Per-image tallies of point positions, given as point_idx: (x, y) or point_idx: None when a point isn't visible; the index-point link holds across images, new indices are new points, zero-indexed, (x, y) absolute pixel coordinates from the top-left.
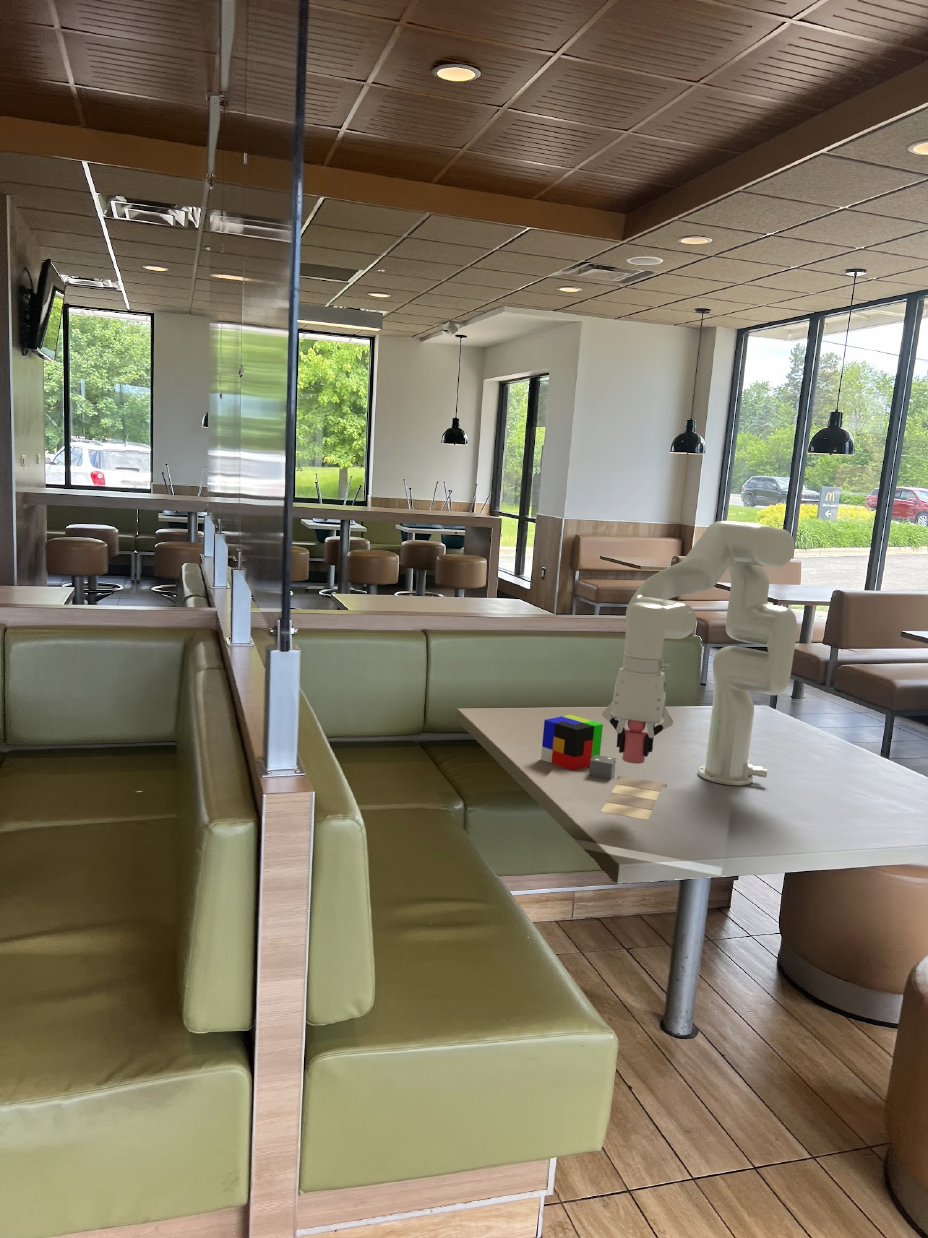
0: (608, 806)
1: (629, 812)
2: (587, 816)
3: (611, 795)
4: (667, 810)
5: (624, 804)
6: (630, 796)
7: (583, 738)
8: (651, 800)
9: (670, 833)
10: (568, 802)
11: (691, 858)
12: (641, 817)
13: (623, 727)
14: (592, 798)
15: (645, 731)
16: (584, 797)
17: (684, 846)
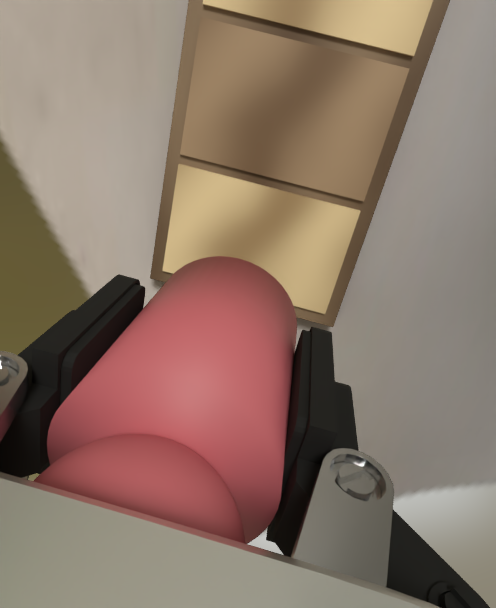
0: (188, 212)
1: (264, 257)
2: (128, 267)
3: (201, 57)
4: (449, 108)
5: (252, 169)
6: (290, 38)
7: None
8: (386, 68)
9: (390, 350)
10: (48, 139)
11: (403, 495)
12: (303, 295)
13: (12, 429)
14: (130, 50)
15: (268, 463)
16: (97, 48)
17: (407, 432)
